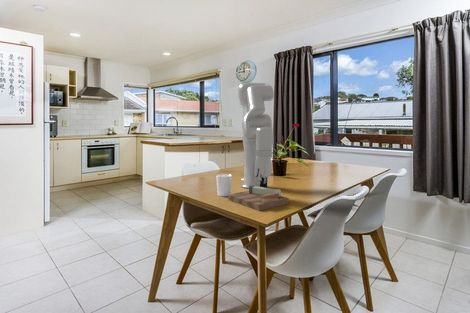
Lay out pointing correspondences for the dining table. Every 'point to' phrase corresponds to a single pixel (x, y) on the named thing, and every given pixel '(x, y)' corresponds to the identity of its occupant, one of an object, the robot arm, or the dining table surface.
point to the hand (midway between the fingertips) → (263, 190)
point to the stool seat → (258, 200)
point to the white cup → (224, 184)
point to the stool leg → (263, 190)
